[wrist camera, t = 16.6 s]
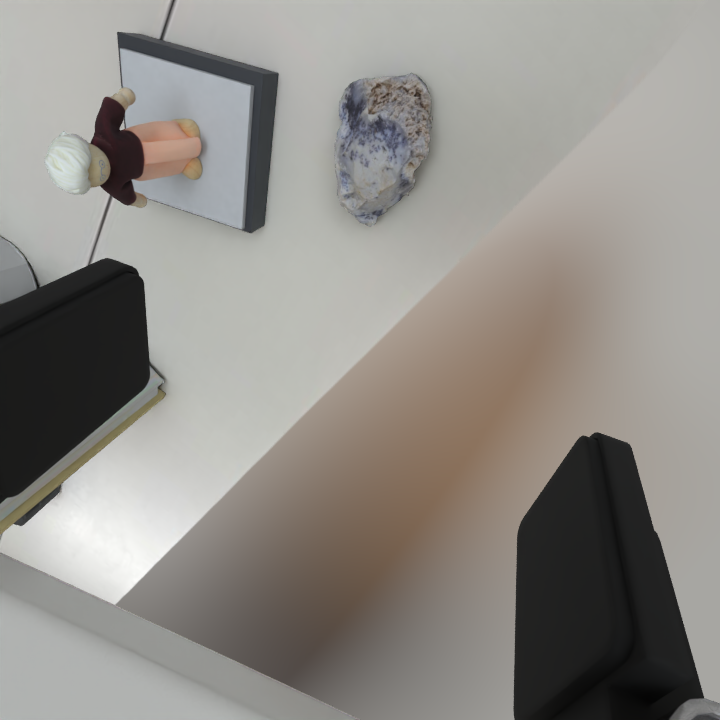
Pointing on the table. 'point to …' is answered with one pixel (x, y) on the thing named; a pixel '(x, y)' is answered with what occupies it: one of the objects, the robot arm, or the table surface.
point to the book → (13, 279)
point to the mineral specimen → (380, 143)
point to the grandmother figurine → (124, 153)
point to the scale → (205, 126)
